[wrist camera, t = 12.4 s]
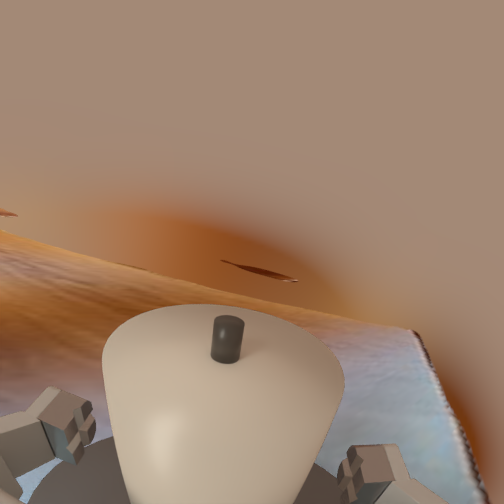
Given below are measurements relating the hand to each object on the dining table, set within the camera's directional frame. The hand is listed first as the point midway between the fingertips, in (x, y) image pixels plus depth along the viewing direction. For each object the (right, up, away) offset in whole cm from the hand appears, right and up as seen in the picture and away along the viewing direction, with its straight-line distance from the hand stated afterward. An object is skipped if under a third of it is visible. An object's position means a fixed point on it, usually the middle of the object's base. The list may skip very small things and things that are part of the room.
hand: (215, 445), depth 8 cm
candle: (-1, -8, +1) cm, 8 cm away
